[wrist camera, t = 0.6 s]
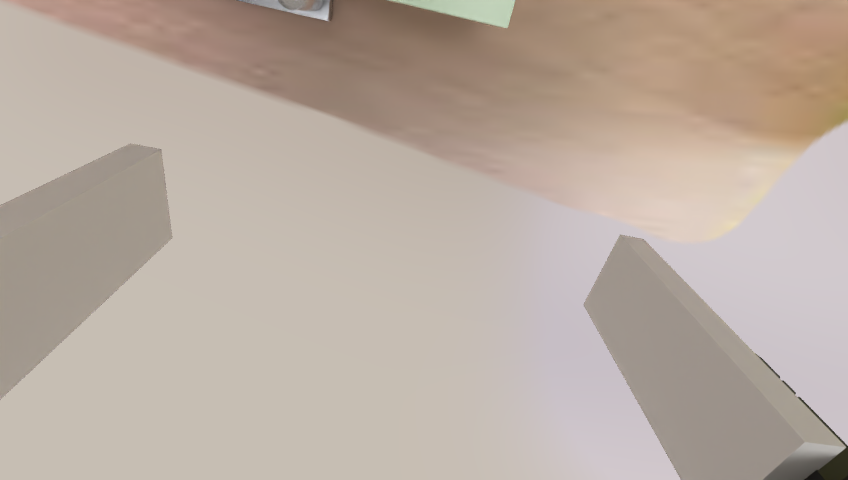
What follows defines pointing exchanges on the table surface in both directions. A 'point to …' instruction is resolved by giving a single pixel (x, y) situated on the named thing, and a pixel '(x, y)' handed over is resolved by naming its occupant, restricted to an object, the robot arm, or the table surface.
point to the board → (469, 9)
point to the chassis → (299, 7)
